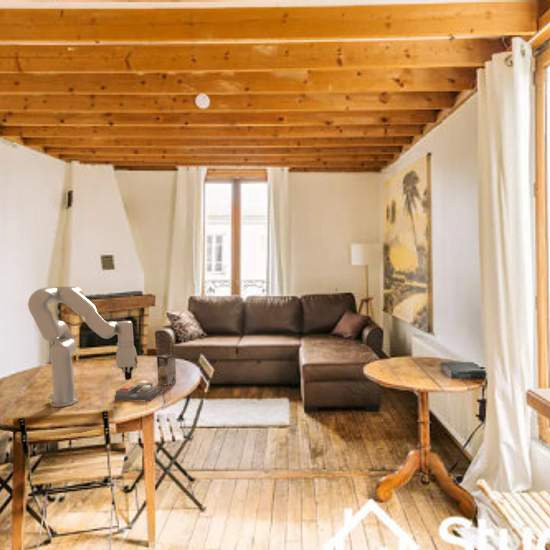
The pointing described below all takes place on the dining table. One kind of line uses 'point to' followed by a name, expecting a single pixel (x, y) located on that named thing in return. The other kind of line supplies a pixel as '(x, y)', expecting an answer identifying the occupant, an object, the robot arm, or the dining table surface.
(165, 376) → the coffee box
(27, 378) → the dining table surface
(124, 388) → the button red
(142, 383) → the button cream
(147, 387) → the button sage
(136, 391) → the button panel
